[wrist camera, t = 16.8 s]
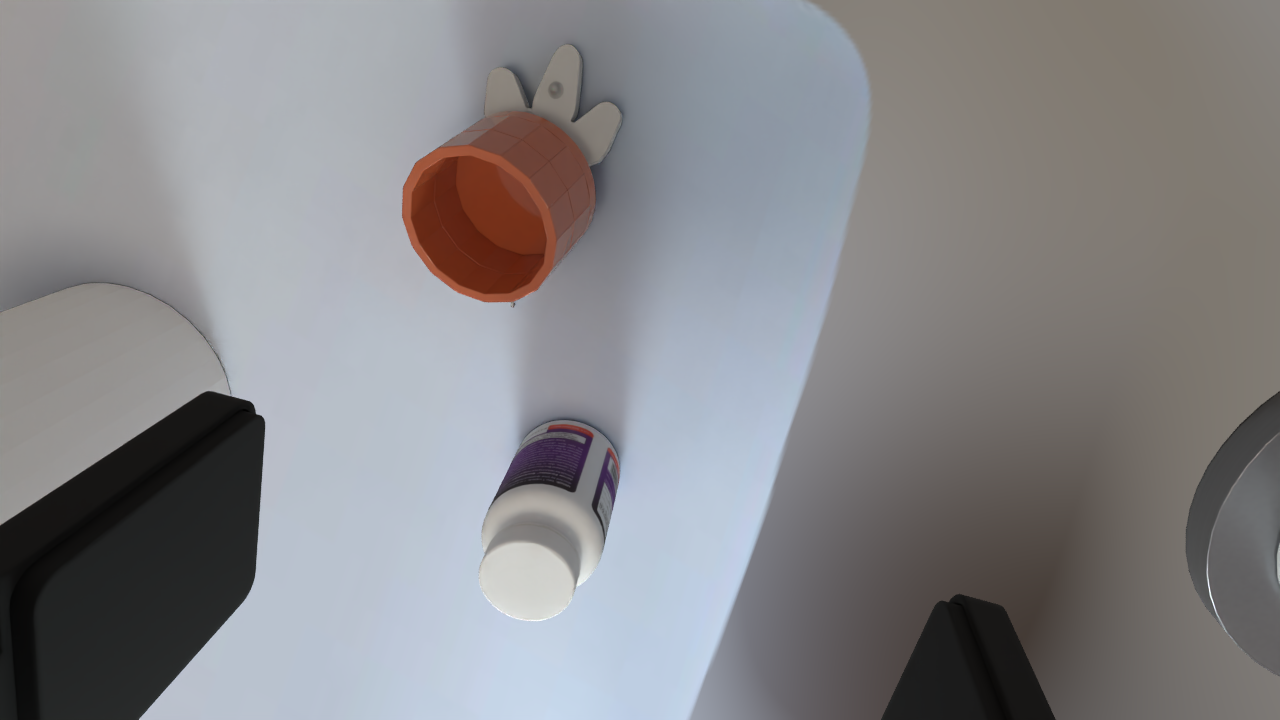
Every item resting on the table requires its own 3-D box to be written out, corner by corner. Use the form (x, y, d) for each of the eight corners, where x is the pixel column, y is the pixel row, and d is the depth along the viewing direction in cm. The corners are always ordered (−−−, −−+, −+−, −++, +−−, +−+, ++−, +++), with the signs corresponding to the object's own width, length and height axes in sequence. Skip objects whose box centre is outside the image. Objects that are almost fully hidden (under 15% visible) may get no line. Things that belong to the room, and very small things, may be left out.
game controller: (621, 43, 34) (614, 44, 32) (631, 304, 39) (624, 323, 36) (489, 47, 35) (471, 49, 32) (512, 304, 39) (499, 323, 37)
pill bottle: (496, 465, 43) (434, 582, 34) (561, 396, 41) (513, 500, 32) (577, 528, 43) (537, 657, 34) (643, 463, 42) (619, 582, 33)
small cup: (608, 137, 33) (566, 177, 29) (582, 273, 36) (543, 323, 33) (462, 90, 33) (404, 123, 30) (452, 228, 37) (399, 272, 34)
